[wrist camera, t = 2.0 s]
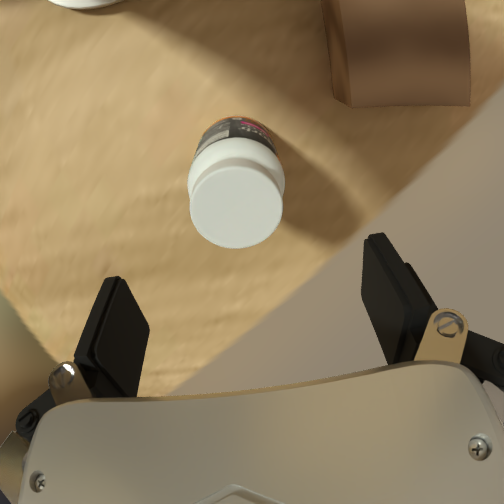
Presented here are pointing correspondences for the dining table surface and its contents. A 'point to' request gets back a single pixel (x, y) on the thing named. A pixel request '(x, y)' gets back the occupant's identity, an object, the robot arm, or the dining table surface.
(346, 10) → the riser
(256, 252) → the dining table surface
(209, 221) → the pill bottle
